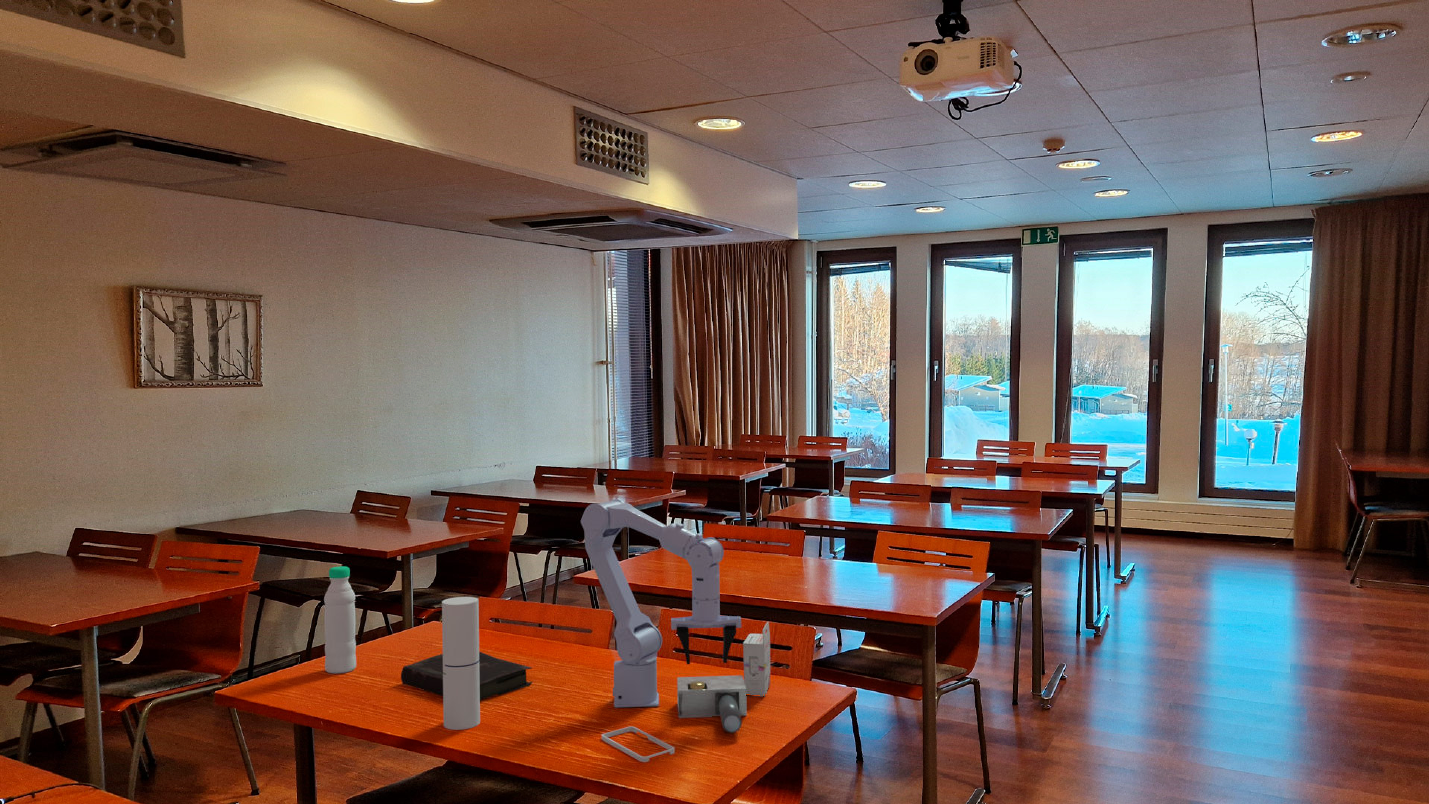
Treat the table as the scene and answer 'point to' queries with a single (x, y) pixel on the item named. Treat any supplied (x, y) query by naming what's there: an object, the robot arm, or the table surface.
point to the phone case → (631, 753)
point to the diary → (492, 675)
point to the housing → (709, 695)
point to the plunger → (697, 685)
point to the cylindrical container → (461, 662)
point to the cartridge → (729, 713)
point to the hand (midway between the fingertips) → (706, 662)
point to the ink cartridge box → (757, 662)
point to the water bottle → (340, 623)
